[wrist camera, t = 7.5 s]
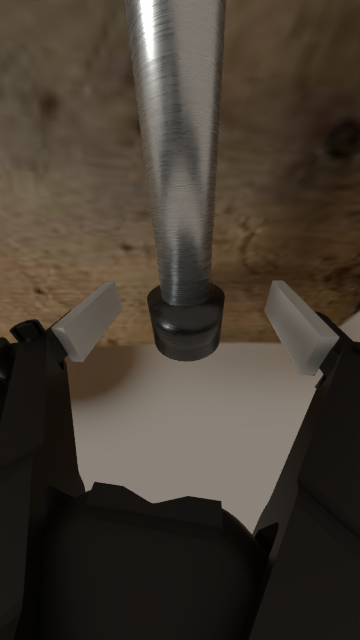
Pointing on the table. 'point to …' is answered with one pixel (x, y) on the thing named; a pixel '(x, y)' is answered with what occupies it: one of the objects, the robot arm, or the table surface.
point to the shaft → (180, 162)
